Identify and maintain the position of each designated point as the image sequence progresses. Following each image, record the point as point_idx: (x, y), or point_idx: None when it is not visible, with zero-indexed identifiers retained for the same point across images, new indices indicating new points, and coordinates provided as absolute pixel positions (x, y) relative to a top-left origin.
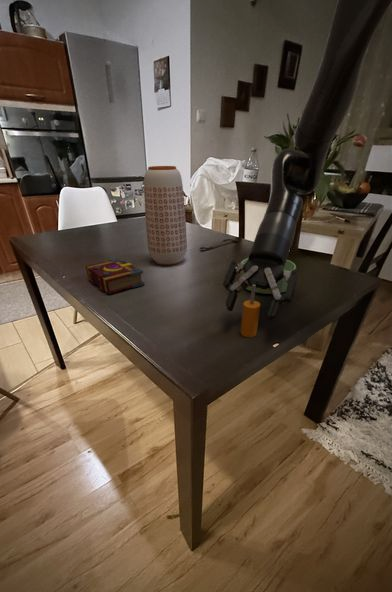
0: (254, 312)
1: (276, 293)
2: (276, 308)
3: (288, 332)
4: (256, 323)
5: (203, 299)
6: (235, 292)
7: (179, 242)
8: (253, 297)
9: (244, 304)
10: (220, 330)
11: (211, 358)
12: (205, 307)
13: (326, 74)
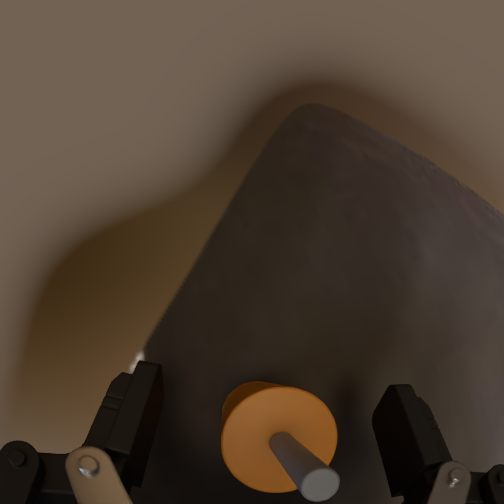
0: (244, 394)
1: (98, 490)
2: (104, 409)
3: None
4: (225, 407)
5: None
6: (420, 468)
7: None
8: (282, 446)
9: (325, 412)
10: (368, 386)
11: (330, 210)
12: None
13: None
